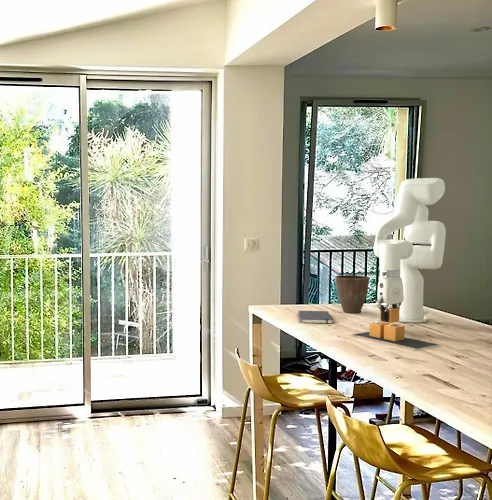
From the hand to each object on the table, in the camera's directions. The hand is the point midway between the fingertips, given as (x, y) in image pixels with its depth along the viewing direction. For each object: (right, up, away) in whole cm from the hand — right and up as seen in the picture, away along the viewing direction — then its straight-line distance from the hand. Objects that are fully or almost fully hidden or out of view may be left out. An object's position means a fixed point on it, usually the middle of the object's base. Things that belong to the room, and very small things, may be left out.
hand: (389, 320), depth 251 cm
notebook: (-22, -3, +28) cm, 35 cm away
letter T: (0, 0, 0) cm, 0 cm away
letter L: (-8, -5, -11) cm, 15 cm away
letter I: (-5, -5, -17) cm, 18 cm away
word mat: (-5, -6, -17) cm, 18 cm away
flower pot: (-1, -1, +43) cm, 43 cm away
